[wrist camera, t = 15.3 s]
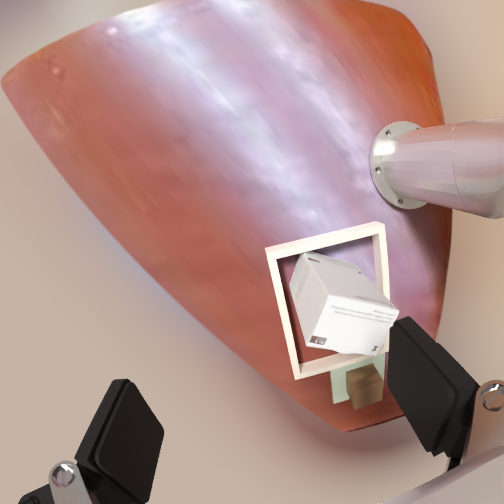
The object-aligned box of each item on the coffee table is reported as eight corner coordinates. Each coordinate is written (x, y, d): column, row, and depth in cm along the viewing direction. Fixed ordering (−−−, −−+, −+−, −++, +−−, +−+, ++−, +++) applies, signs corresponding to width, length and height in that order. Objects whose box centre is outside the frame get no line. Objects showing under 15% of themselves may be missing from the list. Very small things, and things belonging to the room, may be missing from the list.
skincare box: (352, 261, 38) (405, 308, 23) (338, 299, 39) (380, 359, 25) (297, 246, 37) (330, 291, 23) (284, 287, 38) (306, 350, 24)
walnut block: (372, 363, 42) (383, 380, 37) (371, 382, 43) (381, 400, 39) (345, 371, 42) (354, 390, 37) (346, 391, 44) (354, 409, 39)
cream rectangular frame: (376, 221, 36) (384, 224, 34) (383, 342, 42) (389, 350, 40) (264, 248, 37) (266, 253, 34) (292, 370, 42) (295, 380, 40)
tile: (383, 345, 42) (385, 347, 41) (381, 384, 45) (383, 387, 44) (328, 362, 42) (329, 365, 42) (332, 401, 45) (333, 403, 44)
